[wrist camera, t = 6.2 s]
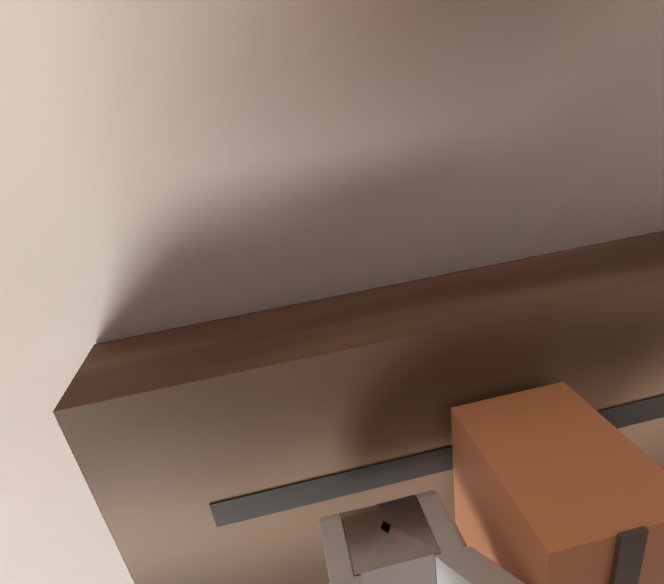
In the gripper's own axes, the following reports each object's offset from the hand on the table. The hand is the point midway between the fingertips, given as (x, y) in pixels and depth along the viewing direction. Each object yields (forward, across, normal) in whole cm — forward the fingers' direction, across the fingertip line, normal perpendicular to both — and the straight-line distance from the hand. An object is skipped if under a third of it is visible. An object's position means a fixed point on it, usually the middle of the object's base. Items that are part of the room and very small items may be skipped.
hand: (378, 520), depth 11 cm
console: (+4, -4, +3) cm, 7 cm away
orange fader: (+1, -4, 0) cm, 4 cm away
